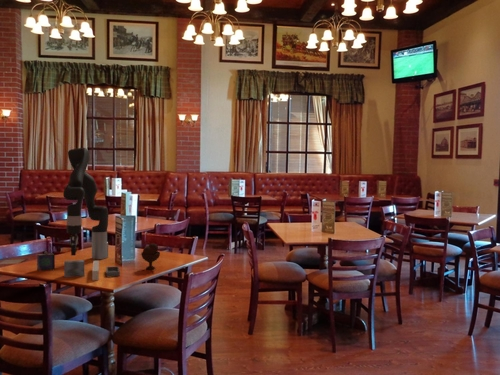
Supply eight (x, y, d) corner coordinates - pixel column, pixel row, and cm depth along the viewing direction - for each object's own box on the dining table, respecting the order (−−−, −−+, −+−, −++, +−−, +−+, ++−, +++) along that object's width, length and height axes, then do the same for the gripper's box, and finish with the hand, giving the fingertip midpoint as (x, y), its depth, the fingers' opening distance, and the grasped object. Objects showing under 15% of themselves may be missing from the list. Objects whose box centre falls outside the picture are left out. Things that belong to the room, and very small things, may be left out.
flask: (36, 270, 253) (36, 252, 253) (37, 269, 256) (37, 251, 255) (54, 269, 256) (54, 251, 256) (55, 268, 259) (55, 250, 258)
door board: (93, 269, 259) (93, 260, 259) (98, 269, 260) (98, 260, 259) (92, 280, 236) (92, 270, 236) (98, 280, 237) (98, 270, 237)
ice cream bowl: (151, 265, 271) (151, 241, 270) (163, 268, 264) (164, 243, 263) (137, 268, 263) (137, 243, 262) (149, 272, 256) (149, 245, 255)
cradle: (106, 271, 256) (106, 266, 256) (118, 270, 258) (118, 266, 258) (106, 276, 244) (106, 272, 243) (119, 276, 246) (119, 271, 246)
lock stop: (64, 277, 241) (64, 262, 241) (64, 275, 245) (64, 261, 244) (84, 276, 244) (84, 261, 244) (84, 274, 248) (84, 260, 247)
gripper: (67, 222, 248) (67, 251, 249) (65, 225, 235) (65, 256, 236) (82, 222, 251) (81, 250, 252) (80, 225, 237) (80, 256, 238)
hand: (73, 253), depth 244 cm, fingers open, 8 cm apart
